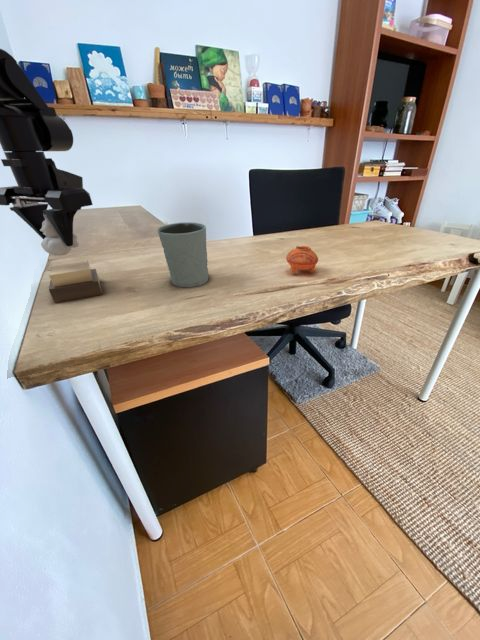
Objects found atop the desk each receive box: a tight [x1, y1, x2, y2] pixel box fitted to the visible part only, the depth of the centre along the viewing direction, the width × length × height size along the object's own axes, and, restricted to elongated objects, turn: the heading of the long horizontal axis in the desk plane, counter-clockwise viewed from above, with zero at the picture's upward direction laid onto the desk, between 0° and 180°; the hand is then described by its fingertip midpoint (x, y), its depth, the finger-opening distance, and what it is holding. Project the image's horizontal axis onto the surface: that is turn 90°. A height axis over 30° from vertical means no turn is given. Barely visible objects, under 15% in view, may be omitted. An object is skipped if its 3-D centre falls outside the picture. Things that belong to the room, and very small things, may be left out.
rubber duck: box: [40, 213, 80, 257], centre depth 58 cm, size 5×7×8 cm
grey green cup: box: [157, 221, 209, 288], centre depth 66 cm, size 10×10×12 cm
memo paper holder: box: [48, 259, 103, 304], centre depth 64 cm, size 9×9×6 cm
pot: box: [285, 245, 319, 275], centre depth 72 cm, size 8×8×7 cm
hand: (60, 244), depth 59 cm, fingers closed on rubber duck, 5 cm apart
